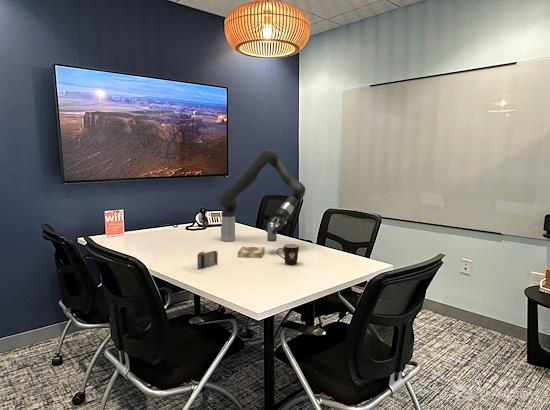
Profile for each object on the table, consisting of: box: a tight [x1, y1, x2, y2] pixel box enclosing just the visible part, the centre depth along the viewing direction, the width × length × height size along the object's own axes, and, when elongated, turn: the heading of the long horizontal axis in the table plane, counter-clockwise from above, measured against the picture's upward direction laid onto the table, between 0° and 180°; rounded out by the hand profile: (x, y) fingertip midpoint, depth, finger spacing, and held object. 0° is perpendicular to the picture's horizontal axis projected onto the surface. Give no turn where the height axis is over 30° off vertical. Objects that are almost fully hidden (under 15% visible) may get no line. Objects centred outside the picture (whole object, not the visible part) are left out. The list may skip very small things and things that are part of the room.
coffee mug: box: [276, 243, 300, 266], centre depth 203 cm, size 12×9×10 cm
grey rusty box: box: [196, 250, 219, 270], centre depth 195 cm, size 11×3×10 cm, turn 138°
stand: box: [237, 246, 265, 259], centre depth 221 cm, size 14×14×3 cm
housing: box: [266, 222, 278, 242], centre depth 223 cm, size 6×6×11 cm
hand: (269, 232), depth 221 cm, fingers closed on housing, 5 cm apart
